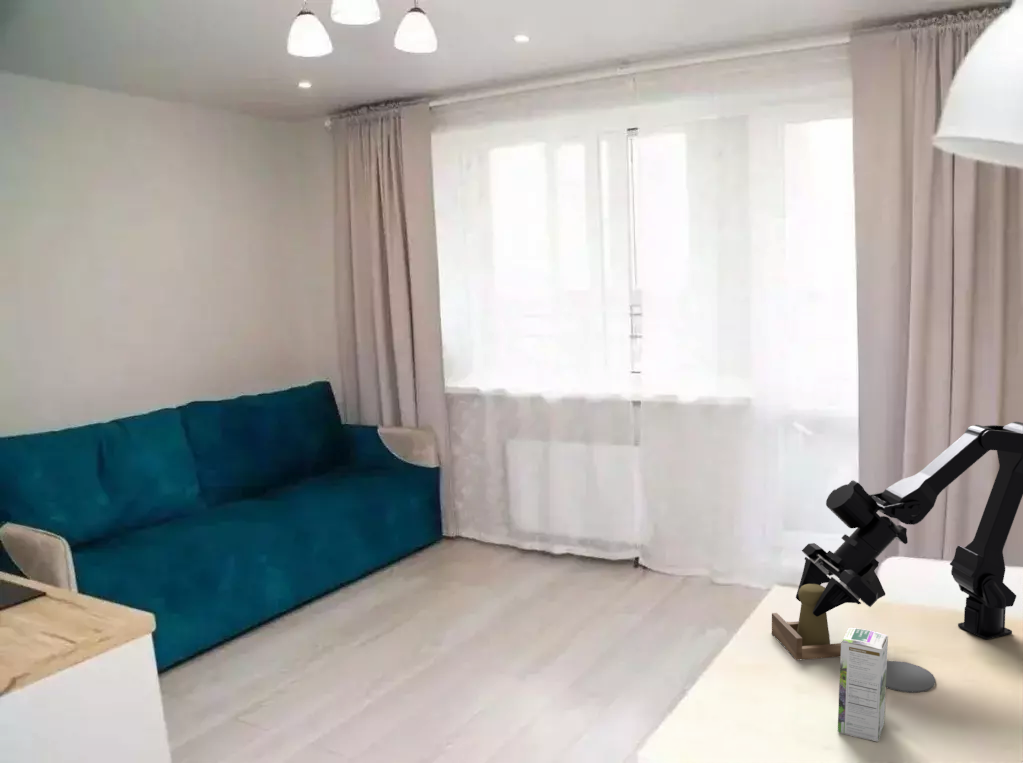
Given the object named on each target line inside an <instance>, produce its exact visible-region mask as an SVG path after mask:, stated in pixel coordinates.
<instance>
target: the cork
mask: <svg viewBox="0 0 1023 763" xmlns="http://www.w3.org/2000/svg"><path fill="white" fill-rule="evenodd" d="M825 588H826V586H823V585H822V584H821V585H818V584H805V585H803V586H801V588H800V589H799V592H798V596H799V600H800V601H799V602H800V603H801V604H800V611H799V617H798V621H799V622H798V629H797V633H798V634H799V635H800V636H801V637H802V646H811V645H824V644H831V639H830V631H829V623H828V614H827V612H826V613H824V614H822V615H820V616H818V617H816V616H815V615H814V614H813V613H812V612H813V610H814V608H815V605H816V604H817V602H818V600H819V598H820V596H821V595H822V593H823V591H824V589H825Z"/></svg>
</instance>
